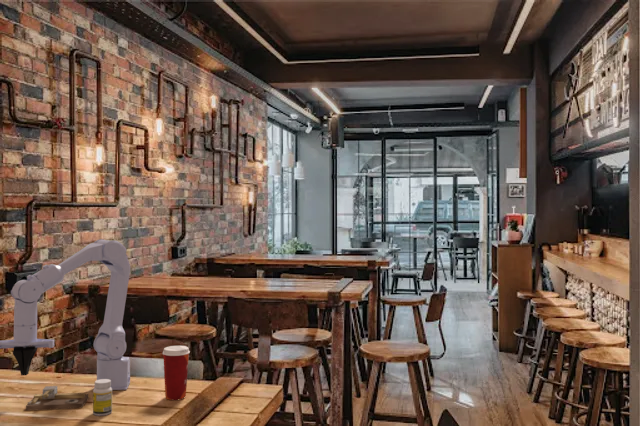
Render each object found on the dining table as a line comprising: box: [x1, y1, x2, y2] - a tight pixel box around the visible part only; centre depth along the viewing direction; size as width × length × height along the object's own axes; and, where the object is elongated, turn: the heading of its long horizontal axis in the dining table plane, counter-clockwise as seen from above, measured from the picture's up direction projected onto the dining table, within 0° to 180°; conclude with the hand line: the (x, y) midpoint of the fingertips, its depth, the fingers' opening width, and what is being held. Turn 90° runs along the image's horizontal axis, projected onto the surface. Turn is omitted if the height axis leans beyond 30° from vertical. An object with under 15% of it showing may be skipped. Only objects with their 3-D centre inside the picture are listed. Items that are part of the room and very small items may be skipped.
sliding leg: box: [42, 385, 58, 399], centre depth 167 cm, size 3×7×3 cm, turn 10°
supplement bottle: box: [92, 379, 113, 417], centre depth 161 cm, size 5×5×8 cm
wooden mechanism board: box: [25, 392, 90, 411], centre depth 168 cm, size 14×9×2 cm, turn 100°
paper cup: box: [161, 345, 191, 401], centre depth 175 cm, size 8×8×14 cm
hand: (24, 374), depth 168 cm, fingers closed
